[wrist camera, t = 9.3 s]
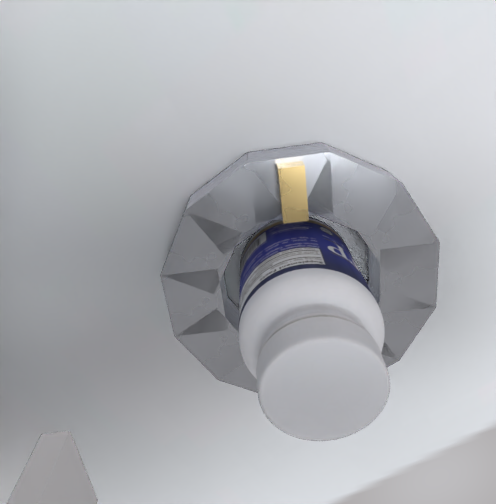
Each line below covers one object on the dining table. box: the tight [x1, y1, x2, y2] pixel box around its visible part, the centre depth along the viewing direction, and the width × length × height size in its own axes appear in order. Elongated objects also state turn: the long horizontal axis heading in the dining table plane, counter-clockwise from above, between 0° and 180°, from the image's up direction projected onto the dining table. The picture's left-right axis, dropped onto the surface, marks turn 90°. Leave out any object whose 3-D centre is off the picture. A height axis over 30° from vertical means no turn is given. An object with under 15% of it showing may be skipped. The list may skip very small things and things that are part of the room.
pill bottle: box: [238, 218, 390, 441], centre depth 17 cm, size 5×5×9 cm
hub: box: [160, 143, 440, 393], centre depth 20 cm, size 12×12×3 cm
